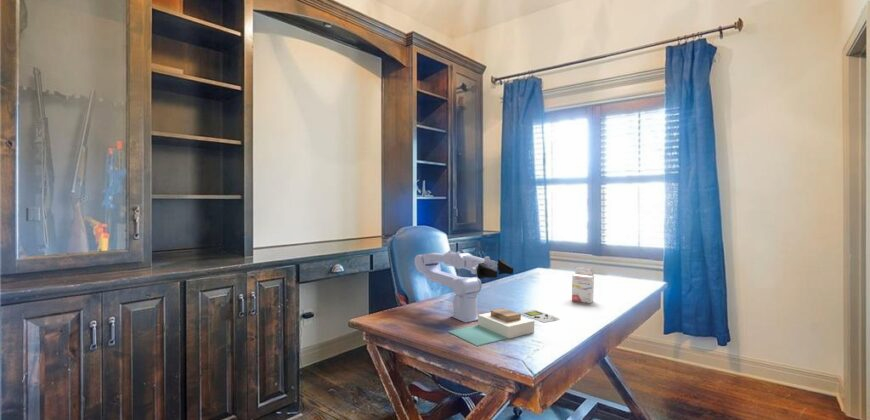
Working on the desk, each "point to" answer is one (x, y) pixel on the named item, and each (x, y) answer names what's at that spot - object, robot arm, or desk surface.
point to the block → (505, 315)
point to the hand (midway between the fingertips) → (504, 272)
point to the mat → (477, 335)
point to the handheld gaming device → (539, 316)
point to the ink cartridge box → (583, 285)
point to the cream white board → (506, 325)
